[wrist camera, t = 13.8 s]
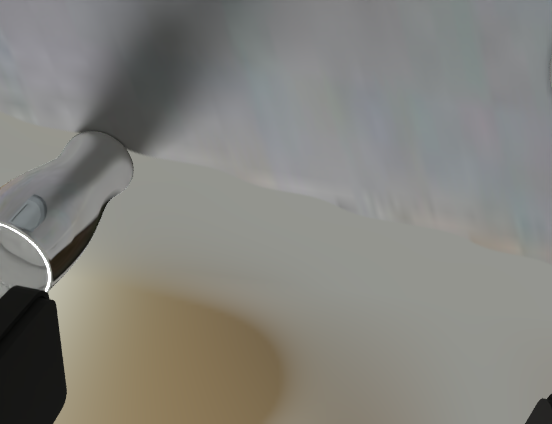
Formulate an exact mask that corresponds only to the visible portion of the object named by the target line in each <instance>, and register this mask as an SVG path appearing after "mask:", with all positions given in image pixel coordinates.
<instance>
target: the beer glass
mask: <svg viewBox="0 0 552 424" xmlns="http://www.w3.org/2000/svg"><path fill="white" fill-rule="evenodd" d="M132 177H133V163H132V159H131V157H130V155H129V153H128V151H127V150H126V148H125V147H124V146H123V145H122V144H121V143H120V142H119V141H118V140H116V139H115V138H113V137H112V136H110V135H108V134H105V133H102V132H98V131H86V132H82V133H80V134H78V135H76V136H74V137H73V138H72V139H71V140H70V141H69V142H68V143H67V145H66V146H65V148H64V150H63V151H62V153H61V154H60V155H59V156H58V157H57V158H56V159H54V160H52V161H50V162H48V163H46V164H43V165H41V166H38V167H36V168H34V169H32V170H30V171H27V172H25V173H23V174H22V175H20V176H18V177H16V178H14V179H12V180H10V181H9V182H7V183H6V184H5V185H3V186H2V187H0V298H1V297H2V296H3V295H4V294H5V293H6V292H7V291H8V290H9V289H10V288H11V287H13V286H16V285H18V286H23V287H29V288H34V289H39V290H43V291H46V292H47V293H48V292H49V290H50V289H51V288H52V287H53V286H54V285H55V284H56V283H57V282H58V281H59V280H60V279H61V278H62V277H63V276H64V275H65V274H66V273H67V272H68V270H69V269H70V268H71V267H72V266H73V265H74V263H75V262H76V261H77V260H78V259H79V257H80V256H81V254H82V253H83V252H84V250H85V249H86V247H87V246H88V244H89V242H90V241H91V239H92V237H93V235H94V233H95V231H96V229H97V226H98V224H99V222H100V219H101V217H102V215H103V212H104V210H105V207H106V205H107V204H108V202H109V201H110V200H111V199H112V198H113V197H115V196H117V195H118V194H120V193H121V192H122V191H124V190H125V189H126V188H127V187H128V185H129V184H130V182H131V180H132Z"/></svg>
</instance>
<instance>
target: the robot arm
mask: <svg viewBox="0 0 552 424" xmlns="http://www.w3.org/2000/svg"><path fill="white" fill-rule="evenodd" d="M550 83H551V88H552V56H551V60H550ZM66 394H67V389H66V381H65V373H64V365H63V357H62V349H61V341H60V333H59V324H58V316H57V308H56V303H55V301H54V300H50V299H49V295H48V293H47V292H46V291H43V290H39V289H34V288H29V287H23V286H18V285H16V286H13V287H11V288H10V289H9V290H8V291H7V292H6V293H5V294H4V295H3V296H2V297H1V298H0V424H53V423H54V421H55V420H56V418H57V416H58V415H59V413H60V411H61V409H62V408H63V405H64V403H65V399H66ZM525 424H552V394H551V395H550V396H549V397H548V398H547V399H540V400H539V402H538V403H537V405H536V406H535V408H534V410H533V411H532V413H531V415H530V416H529V418H528V420H527V422H526V423H525Z"/></svg>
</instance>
